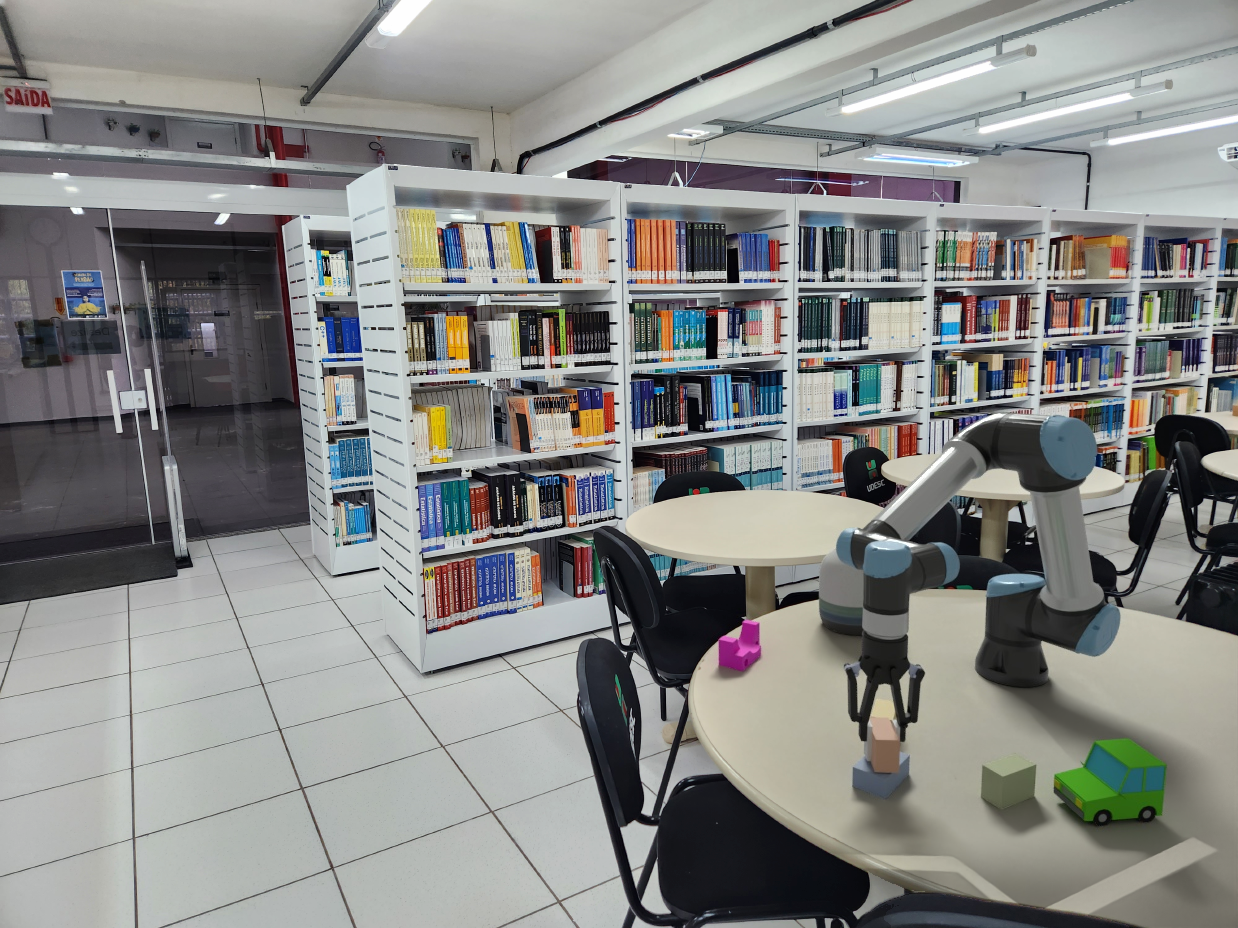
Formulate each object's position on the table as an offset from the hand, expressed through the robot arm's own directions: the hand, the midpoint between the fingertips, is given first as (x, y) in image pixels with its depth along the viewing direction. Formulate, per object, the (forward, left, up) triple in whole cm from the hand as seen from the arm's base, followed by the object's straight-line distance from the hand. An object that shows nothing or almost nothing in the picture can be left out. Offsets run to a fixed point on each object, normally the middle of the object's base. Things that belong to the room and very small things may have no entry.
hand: (881, 756), depth 135 cm
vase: (-9, -72, -5) cm, 73 cm away
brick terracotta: (0, 0, 0) cm, 0 cm away
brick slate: (0, 0, -5) cm, 5 cm away
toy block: (+21, -51, -5) cm, 55 cm away
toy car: (-34, +7, -5) cm, 35 cm away
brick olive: (-20, +4, -5) cm, 21 cm away
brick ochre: (-4, -15, -5) cm, 16 cm away
